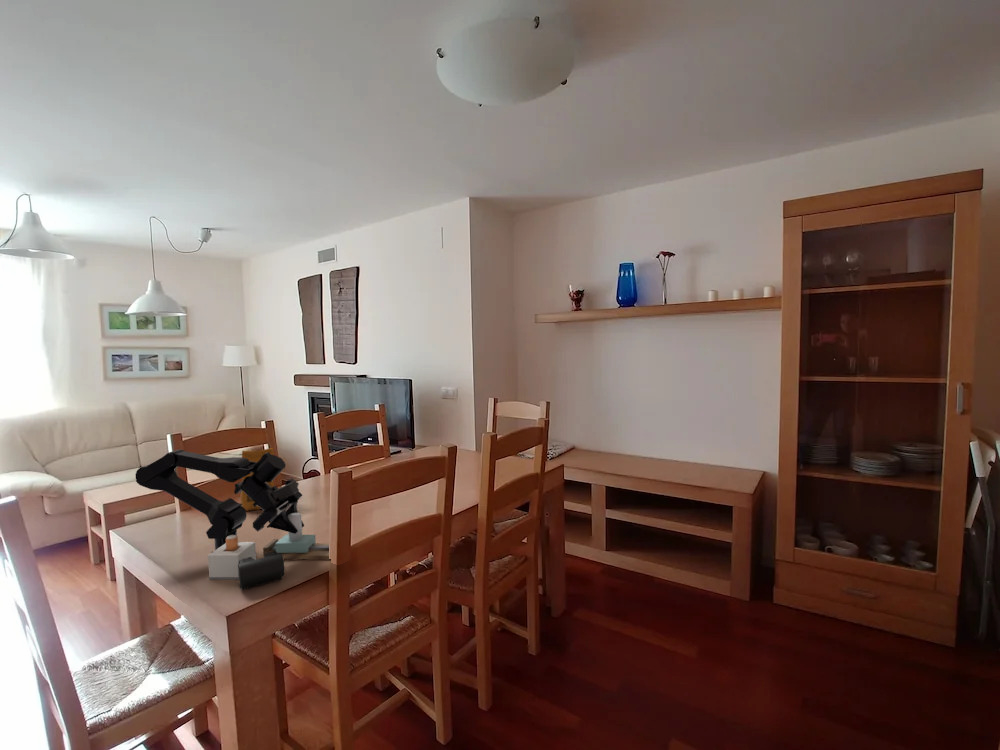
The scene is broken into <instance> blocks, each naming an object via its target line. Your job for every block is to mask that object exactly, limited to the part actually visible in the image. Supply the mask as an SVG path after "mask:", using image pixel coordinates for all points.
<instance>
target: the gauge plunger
mask: <svg viewBox="0 0 1000 750" xmlns="http://www.w3.org/2000/svg"><path fill="white" fill-rule="evenodd" d="M238 542H239V538H238V534H237V535H230V536H227V537H226V551H235V550H237V549H238Z"/></svg>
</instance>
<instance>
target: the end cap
mask: <svg viewBox="0 0 1000 750" xmlns="http://www.w3.org/2000/svg"><path fill="white" fill-rule="evenodd" d="M264 556H265V557H264ZM238 572H239V574H238V575H239V580H238V588H239V589H240V590H242V591H243V590H244V591H245V590H248V589H251V588H254V587H258V586H261V585H264V584H268V583H271V582H275V581H276V582H277V581H279V580H282V578H283V577H284V576H285V561H284V560H283V556H282V554H281V553H280V554H278V553H277V552H276V551H272V552H269V553H265V554H264V555H263V557H262V558H258V559H257V558H256V560H253V558H252V557H249V558H245V559H241V560H240V561H239V565H238Z"/></svg>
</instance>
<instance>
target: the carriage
mask: <svg viewBox="0 0 1000 750" xmlns="http://www.w3.org/2000/svg"><path fill="white" fill-rule="evenodd" d="M288 519H289V520H290V522H291V523H292V524H293V525H294V526H295V527H296V529H297V530H298V532H297V533H296V534H294V533H290V532H288V534H285V535H284V536H282V537H281V538H280V539H278V542H276V543H275V547H276V552H277V553H307V552H308V551H309V550H308V548H309V547H310V546H311V545H315V544H316V543H317V540H316V539H317V538H316V534H303V528H302V522H303V520H302V519H303V518H302V513H301V512H298V513H292V514H289V515H288Z"/></svg>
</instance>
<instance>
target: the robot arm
mask: <svg viewBox="0 0 1000 750" xmlns="http://www.w3.org/2000/svg"><path fill="white" fill-rule="evenodd" d="M178 467H179V468H182V469H189V470H193V471H194V470H195V471H199V472H203V473H209V474H212V475H215V476H216V477H217V478H218V479H220V480H221V481H222V480H223V481H225V482H228V483H235V482H236V481H239V480H241V482H238V483H235V484H234V490H233V494H234V495H237V494H240V492H241V491H243V492H245V493H246V494H247V495H248V496H249V497H250V498H251V499H252V500H253V501H254V502H255V503H254V504H253V506H254V507H256V506H259V507H260V508H261V509H262V512H261V513H260V514H259V515H258V517H257V518H256V519H255V520H254V521H253V522H252V528H253V529H254V530H255V531H257V532H258V533H259V532H260V531H261V530H263V529H264V527H265V525H266V524H267V523H268V525H267V526H266V528H272V529H276V530H279V531H280V530H281V531H283V532H288V533H289V532H290V533H294V534H296V533H297V532H298V530H297V529H296V527H295V526H294V525H293V524H292V523H291V522H290V520H289V519H288V515H289V514H292V513H299V512H298V509H297V508H298V507H297V506H298V502H299V500H301V498H302V497H303V494H302V493H301V492H300V489H299V482H298V481H296V480H295V479H294V478H290V479H288V480H286V481H285V482H284V485H283V486H281V487H278V486H275V485H274V486H273V487H271V486H269V485H268V484H267V483H266V482H272V481H273V480H274V481H275V478H276V477H278V475H279V474H280V473H281V472H282V471H283V470H284V469H285V468H286V462H285V460H284V459H283V458H281V457H279V456H277V455H275V454H273V455H271V454H270V453H269V452H268V453H265V454H264V455H263V456H262V457H261V459H260V460H259V461H258V462H252V461H249V460H248V459H246V458H242V457H224V458H223V457H217V456H216V457H215V456H211V455H205V454H201V453H195V452H189V451H185V450H184V449H176V450H173V451H169V452H167V453H165V454H164V455H163V456H162V457H160V458H158V459H157V460H155V461H153V462H152V463H150V464H147V465H144V466H141V467H139V468H138V469H137V470H136V471H135V482H136V483H137V484H138V485H139V486H141V487H142V488H143V487H144V488H146V489H147V490H148V489H149V490H154V491H163V492H166V493H167V494H169V495H171V496H172V497H174V498H176V499H177V500H179V501H181V502H183V503H184V504H187V505H188V506H190V507H191V508H192V509H193V508H194V509H195V510H197V511H198V512H200V513H201V514H204V515H205V516H206V517H207V520H208V521H209V523H210V525H211V526H210V527H209V528H208V529H207V530H206V532H205V533H206V536H207V538H208V539H209V540H214V550H213V551H215V550H216V549H218V548H219V547H221V546H222V545H224V544H225V543H226V537H227V536H230V535H237V536H238V533H237V532H238V530H239V529H241V528H242V526H243V525H244V522H245V521H246V520H247V511H246V509H245V508H244V507H243V506H241V505H242V504H241V502H237V501H236V500H235V499H234V498H231V497H230V498H228V499H226V500H223V501H222V500H219V499H217V498H215V497H213V495H210V494H208V493H206V492H205V491H203V490H201V489H199V488H198V487H197V486H194V485H192V484H191V483H189V482H187V481H186V480H184V479H183V478H180V477H179V476H178V473H177V471H176V469H177V468H178ZM252 472H253V475H252V476H247V475H249V474H250V473H252ZM245 476H247V477H246V478H245V479H244V480H243V481H242V478H243V477H245ZM304 527H305V524H304V522H303V521H302V529H303V528H304ZM213 551H211V552H210V554H211V553H212V552H213Z"/></svg>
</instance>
